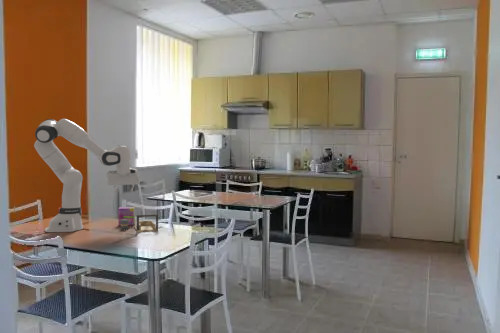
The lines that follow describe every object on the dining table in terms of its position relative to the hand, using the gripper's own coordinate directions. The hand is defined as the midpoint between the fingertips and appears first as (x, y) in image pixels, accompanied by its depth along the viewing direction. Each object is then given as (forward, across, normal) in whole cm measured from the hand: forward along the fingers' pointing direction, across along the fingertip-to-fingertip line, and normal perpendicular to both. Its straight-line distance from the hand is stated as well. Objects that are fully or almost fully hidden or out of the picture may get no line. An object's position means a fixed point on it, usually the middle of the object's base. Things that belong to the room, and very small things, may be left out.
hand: (124, 191), depth 283 cm
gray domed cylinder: (+24, 0, -2) cm, 24 cm away
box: (+24, 0, +14) cm, 28 cm away
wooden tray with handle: (+24, +13, -4) cm, 28 cm away
